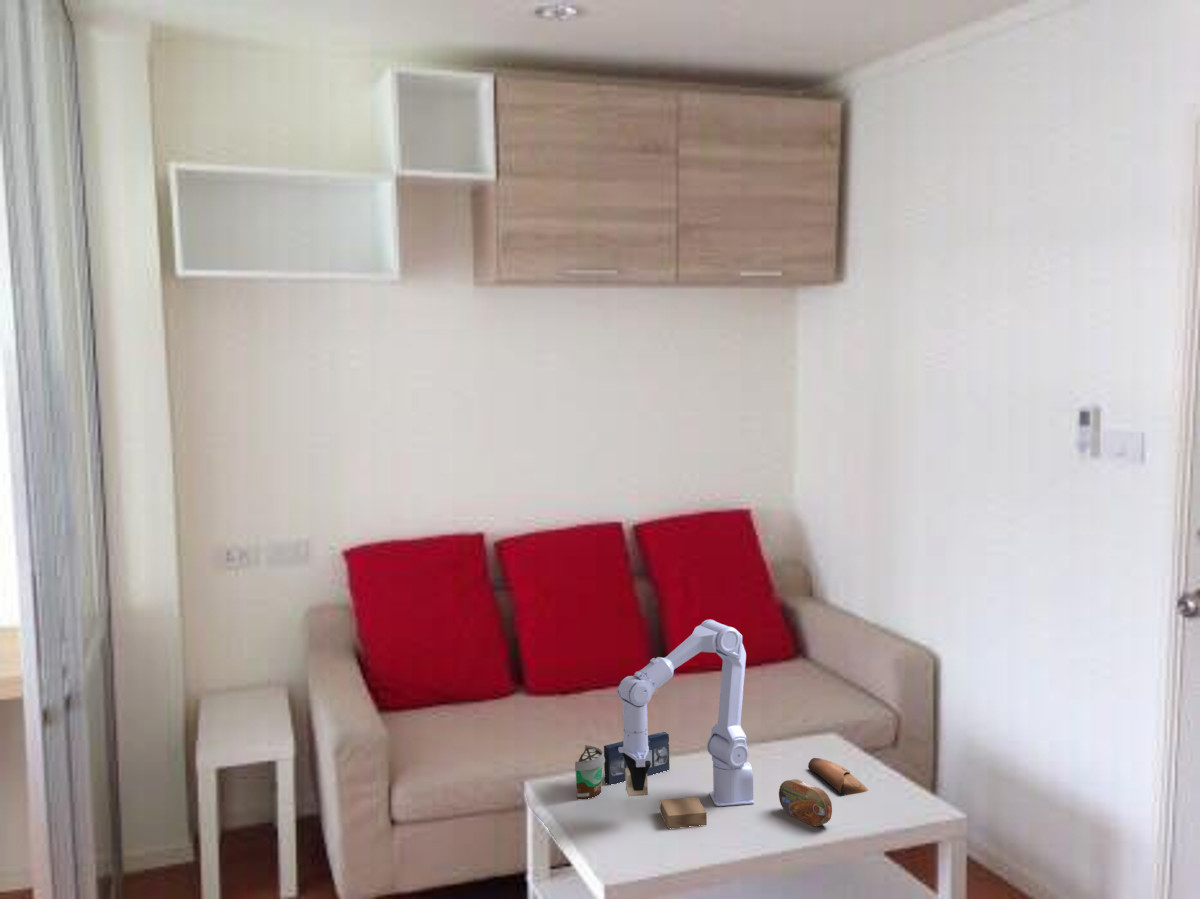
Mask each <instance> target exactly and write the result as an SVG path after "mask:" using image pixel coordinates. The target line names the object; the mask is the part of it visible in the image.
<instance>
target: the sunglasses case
mask: <svg viewBox="0 0 1200 899" xmlns="http://www.w3.org/2000/svg"><path fill="white" fill-rule="evenodd" d="M807 764H808V765H807V768H808V769H809V771H811V772H813V773H814V774H815V775H817V776H819V778H821V779H822V780H823V781H825V782H826V783H828V785H830V786H831V787H832V788H833V789H835V790H836V791H837V792H838V793H839V794H841V795H842V796H850V795H851V796H852V795H857V794H863V793H866V792H867V791H869V789H868V788H867V787H866V786H865V785H864V783H862V782H861V781H860V780H859V779H858V778H856V777H855V776H854V775H853V774H851V771H850V770H848V769H847V768H845V767H844V766H841V765H839V764H837V763H835V762H832V761H831V760H827V759H825V758H824V759H823V758H819V757H813V758H811V759H810V760H809V762H808V763H807ZM867 793H868V792H867Z"/></svg>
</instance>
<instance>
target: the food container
mask: <svg viewBox="0 0 1200 899" xmlns="http://www.w3.org/2000/svg"><path fill="white" fill-rule="evenodd" d="M574 763H575V764H574V770H575V771H574V772H575V783H576V784H575V785H576V786H575V787H576V798H577V799H585V800H589V799H588V798H591V799H593V798H592V797H595V796H597V795H599V794H600V793H601V794H602V783H603V766H604V763H605V758H604V751H603V750H602V749H601V748H600V747H597V746H594V745H587V744H586V745H584V751H583V752H582V753H581V754H580V756H579V759H578V761H575V762H574ZM601 794H600V795H601ZM600 795H599V796H600ZM597 797H598V796H597ZM595 798H596V797H595Z"/></svg>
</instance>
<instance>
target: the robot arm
mask: <svg viewBox="0 0 1200 899" xmlns="http://www.w3.org/2000/svg"><path fill="white" fill-rule="evenodd" d="M700 653H716V654H717V655H718V656H719V657H720V658H721V660H722V667H721V677H720V678H721V679H720V681H721V682H720V691H719V702H718V703H719V705H718V717H717V723H716V724H714V725H713V726H712V728H711V731H710V736H709V738H708V740H707V743H706V750H707V752H708V754H709V755H710V756H711V761H712V770H713V771H712V776H713V777H712V782H713V786H712V787H713V788H712V789H713V790H711V791H709V792H708V794H709V796H710V798H711V800H712V802H713V803H714V805H715V806H716V807H722V806H723V807H725V806H726V807H727V806H738V805H751V804H755V800H754V774H753V768H752V767H753V766H752V765H751V762H749V761H748V758H749V755H750V754H749V748H748V746H747V741H748V740H747V735H746V733H745V731H744V730H743V728H742V726H741V722H742V710H743V709H742V708H743V701H744V700H743V699H744V698H743V697H744V685H745V684H744V683H745V676H746V675H745V673H746V661H747V653H746V649H745V646H744V644H743V635H742V634H741V633H740V631H738V630H737V629H736V628H735V627H732V626H728V625H726V624H722V623H720V622H717V621H716V620H714V619H706V620H704V621H702V622H701V624H699V625H697V626H695V627H694V630H693V631H692V634H690V635H689V636H688V637H687V638H686V639H685V640H684V641H683V642H682V643H680V644H679V645H678V646H677V647H675V649H673V650H672V651H670V653H669V654H667V656H665V657H660V656H657V657H656V658H655V657H653V658H651V659H650V660H649V663H648V664H647V665H646V666H644V667H643V668H641V669H640V670H638V671H635V672H634V674H633V675H628V676H626V677H624V678H623V679H622V680H621V681H620V683H619V685H618V688H617V689H616V692H617V695H618V697H619V698H620V699H621V705H622V737H623V738H622V741H623V747H619V748H618V751H619V752H620V753H622V755H623V756H624V758H625V761H626V765H627V768H628V769H629V771H630V774H631V779H632V785H633V789H634V791H641V790H643V788H644V783H645V778H646V774H647V771H648V769H649V767H650V765H651V762H650V761H645V758H646V756H647V754H648V752H649V746H648V735H649V732H648V730H649V729H648V704H649V702H650V701H651V699H652V696H653V694H654V693H655V691H657V690H658V689H660V687H663V685H664V684H666V683H667V682H668V681H669V680H671V679H672V678H673V676H674V672H675V671H674V670H675V669H677V668H678V667H680V666H682V665H683V664H684V663H686V662H688V661H689V660H690V659H692V658H694V657H695V656H697V655H698V654H700Z"/></svg>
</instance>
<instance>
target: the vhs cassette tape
mask: <svg viewBox="0 0 1200 899" xmlns="http://www.w3.org/2000/svg"><path fill="white" fill-rule="evenodd" d="M648 746H649V752H648V754H647V756H646V758H645V761H650V762H651V765H650V767H649V769H648V771H647V777H650V776H653V774H654V775H657V774H656V773H658V774H661V773H660V772H662V773H664V772H663V771H666V772H668V771H667V770H669V771H670V734H669V733H668V732H667V731H666V732H665V731H662V732H656V733H652V734H648ZM619 747H623V740H621V741H618V742H614V743H610V744H607V745H603V754H604V758H605V763H604V764H603V766H604V771H603V772H604V773H603V774H604V777H603V778H604V783H605V784H606V783H607V785H608V786H612V785H611V784H614V785H618V784H621V783H620V782H622V783H625V782H624V781H625V768H627V765H626V761H625V758H624V756H623V755H622V753H620V752H619V751H618V748H619ZM617 783H618V784H617Z"/></svg>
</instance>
